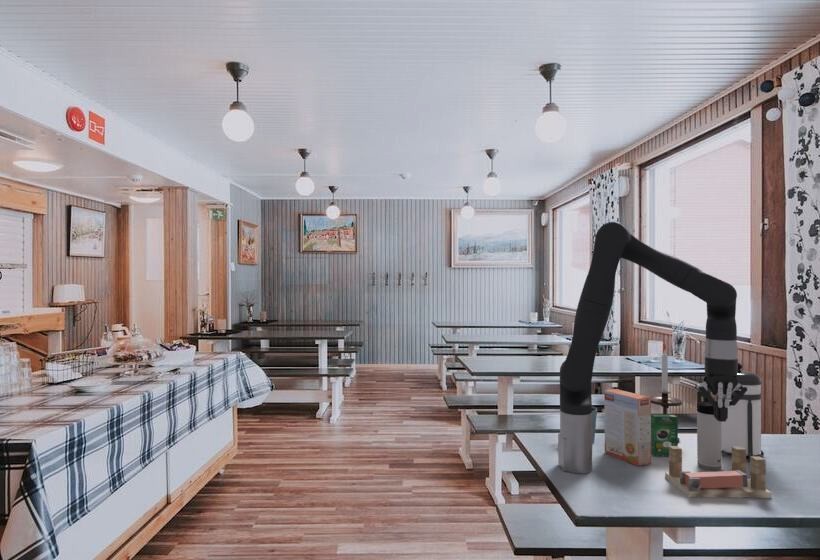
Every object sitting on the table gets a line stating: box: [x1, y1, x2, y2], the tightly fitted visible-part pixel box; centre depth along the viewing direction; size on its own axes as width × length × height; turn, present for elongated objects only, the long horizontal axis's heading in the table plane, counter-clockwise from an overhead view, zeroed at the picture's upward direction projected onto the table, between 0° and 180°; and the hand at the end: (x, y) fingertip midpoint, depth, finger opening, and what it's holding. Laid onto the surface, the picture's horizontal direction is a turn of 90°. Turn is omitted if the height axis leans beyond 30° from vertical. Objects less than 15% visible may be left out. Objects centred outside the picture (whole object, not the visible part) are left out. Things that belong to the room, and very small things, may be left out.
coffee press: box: [721, 362, 765, 463], centre depth 160 cm, size 17×16×30 cm
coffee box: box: [651, 413, 679, 457], centre depth 159 cm, size 8×3×13 cm, turn 91°
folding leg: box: [685, 470, 748, 488], centre depth 130 cm, size 3×3×14 cm
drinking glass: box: [592, 405, 598, 444], centre depth 174 cm, size 10×10×12 cm
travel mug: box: [696, 400, 723, 472], centre depth 149 cm, size 6×7×20 cm
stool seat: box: [664, 446, 772, 499], centre depth 134 cm, size 21×14×10 cm, turn 88°
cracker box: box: [604, 388, 652, 467], centre depth 157 cm, size 14×6×21 cm, turn 22°
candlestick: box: [650, 341, 683, 444], centre depth 175 cm, size 11×11×35 cm
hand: (720, 420), depth 131 cm, fingers closed
